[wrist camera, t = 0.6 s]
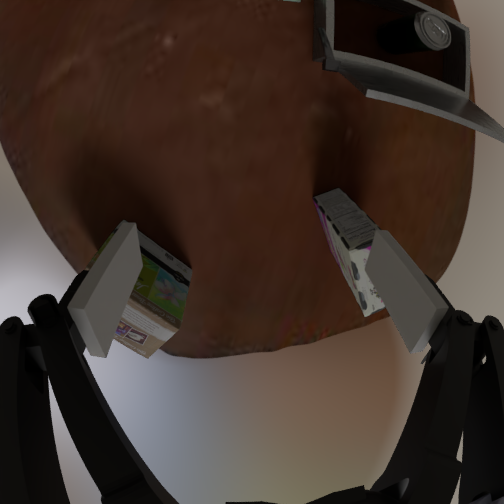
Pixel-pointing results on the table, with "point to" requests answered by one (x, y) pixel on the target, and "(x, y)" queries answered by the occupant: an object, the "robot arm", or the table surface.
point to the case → (407, 70)
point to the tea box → (152, 298)
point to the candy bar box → (350, 244)
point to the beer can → (414, 34)
